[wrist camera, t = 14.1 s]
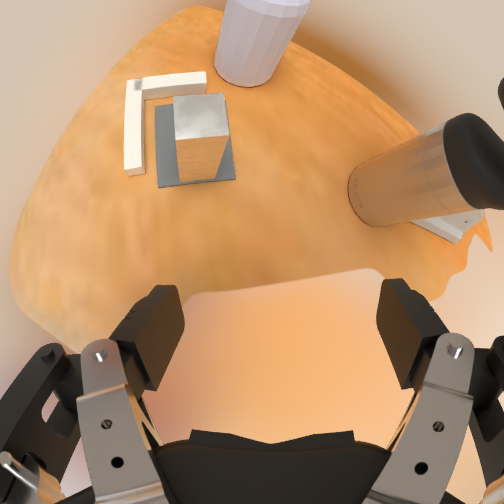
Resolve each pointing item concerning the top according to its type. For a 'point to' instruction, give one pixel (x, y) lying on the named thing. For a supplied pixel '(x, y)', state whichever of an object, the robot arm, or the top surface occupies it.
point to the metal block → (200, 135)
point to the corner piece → (135, 109)
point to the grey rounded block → (451, 224)
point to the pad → (168, 153)
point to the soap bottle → (256, 38)
